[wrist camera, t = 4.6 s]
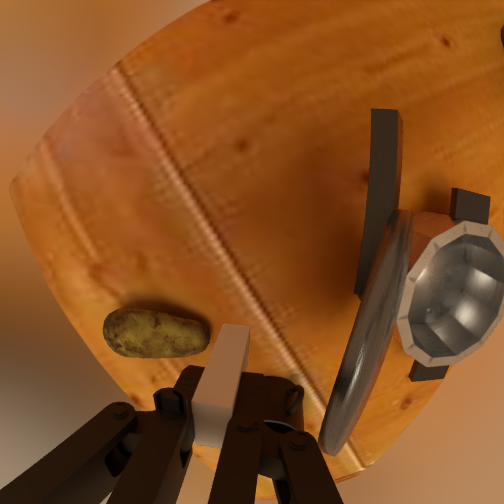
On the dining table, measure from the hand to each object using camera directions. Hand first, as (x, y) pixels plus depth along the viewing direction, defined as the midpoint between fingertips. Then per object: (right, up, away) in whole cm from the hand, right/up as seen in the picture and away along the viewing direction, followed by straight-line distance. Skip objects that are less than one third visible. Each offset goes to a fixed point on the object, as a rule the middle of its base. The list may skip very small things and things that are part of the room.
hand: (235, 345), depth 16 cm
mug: (+4, -15, +23) cm, 28 cm away
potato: (-11, -4, +22) cm, 25 cm away
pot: (+23, +2, +17) cm, 29 cm away
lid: (+10, +2, +1) cm, 10 cm away
